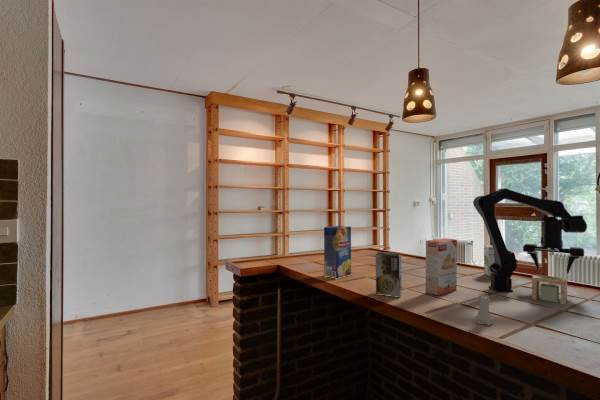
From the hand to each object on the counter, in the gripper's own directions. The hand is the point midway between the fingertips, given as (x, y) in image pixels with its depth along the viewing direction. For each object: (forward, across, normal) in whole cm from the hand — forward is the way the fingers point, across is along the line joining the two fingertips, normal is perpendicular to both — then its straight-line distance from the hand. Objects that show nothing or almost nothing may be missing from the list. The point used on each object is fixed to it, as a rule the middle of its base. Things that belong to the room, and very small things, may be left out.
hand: (552, 271), depth 127 cm
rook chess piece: (+9, +11, +54) cm, 56 cm away
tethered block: (+8, 0, +7) cm, 11 cm away
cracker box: (+9, +32, +29) cm, 44 cm away
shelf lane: (+8, 0, +12) cm, 14 cm away
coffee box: (+9, +46, +47) cm, 66 cm away
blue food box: (+9, +79, +36) cm, 87 cm away
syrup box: (+8, +24, -16) cm, 30 cm away
